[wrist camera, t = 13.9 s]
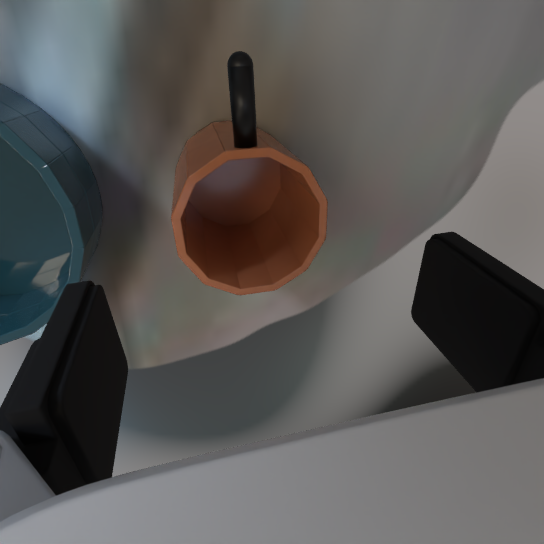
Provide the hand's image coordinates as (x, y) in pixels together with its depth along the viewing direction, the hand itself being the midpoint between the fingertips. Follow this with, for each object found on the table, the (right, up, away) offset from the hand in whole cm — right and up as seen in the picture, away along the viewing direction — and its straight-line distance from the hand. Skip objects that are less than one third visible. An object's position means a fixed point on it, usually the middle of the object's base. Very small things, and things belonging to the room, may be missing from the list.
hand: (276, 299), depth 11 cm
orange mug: (-3, +9, +13) cm, 16 cm away
